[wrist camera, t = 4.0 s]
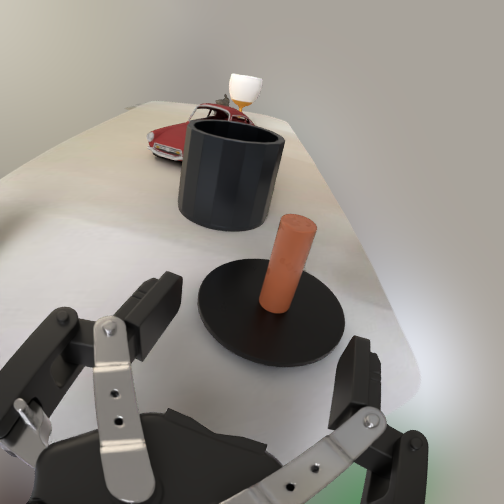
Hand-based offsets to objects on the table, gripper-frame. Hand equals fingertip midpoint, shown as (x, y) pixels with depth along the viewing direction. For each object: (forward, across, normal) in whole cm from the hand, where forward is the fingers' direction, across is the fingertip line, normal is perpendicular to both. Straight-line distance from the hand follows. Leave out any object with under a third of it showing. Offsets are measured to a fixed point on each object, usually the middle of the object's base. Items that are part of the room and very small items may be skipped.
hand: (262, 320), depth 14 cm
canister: (+26, +10, +8) cm, 29 cm away
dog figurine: (+95, +38, +8) cm, 103 cm away
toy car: (+47, +22, +8) cm, 52 cm away
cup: (+74, +25, +8) cm, 79 cm away
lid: (+10, 0, +8) cm, 12 cm away
